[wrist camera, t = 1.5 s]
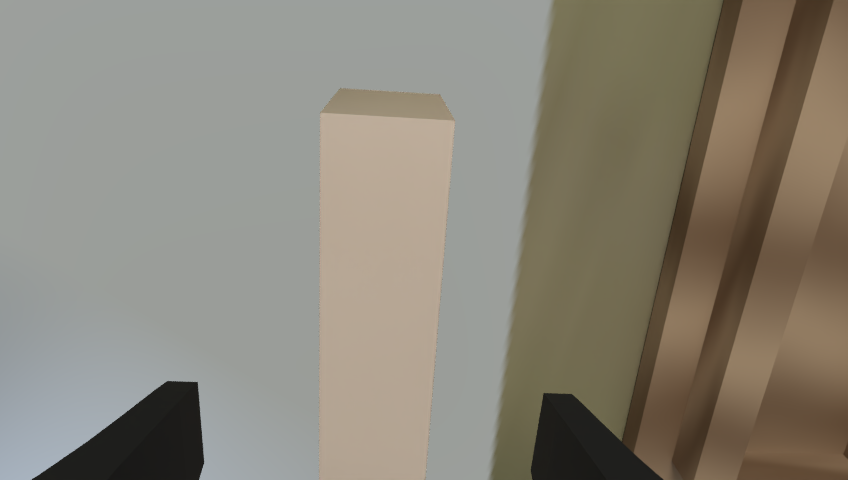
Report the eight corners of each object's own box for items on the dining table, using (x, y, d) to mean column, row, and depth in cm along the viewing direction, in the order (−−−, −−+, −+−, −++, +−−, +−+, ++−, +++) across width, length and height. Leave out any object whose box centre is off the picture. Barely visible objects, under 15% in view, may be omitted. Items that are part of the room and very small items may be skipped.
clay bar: (416, 420, 22) (421, 528, 17) (335, 418, 22) (319, 527, 17) (439, 93, 18) (454, 120, 13) (340, 88, 18) (320, 112, 13)
